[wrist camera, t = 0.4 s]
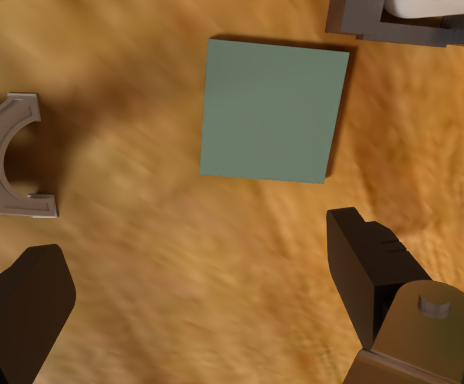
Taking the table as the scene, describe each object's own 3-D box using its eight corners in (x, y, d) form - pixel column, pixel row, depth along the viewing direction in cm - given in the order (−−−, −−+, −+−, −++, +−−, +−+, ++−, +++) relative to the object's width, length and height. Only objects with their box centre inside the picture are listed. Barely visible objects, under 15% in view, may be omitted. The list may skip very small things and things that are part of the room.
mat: (208, 38, 35) (207, 38, 33) (345, 51, 35) (349, 52, 34) (200, 170, 40) (199, 174, 38) (320, 179, 40) (323, 184, 39)
